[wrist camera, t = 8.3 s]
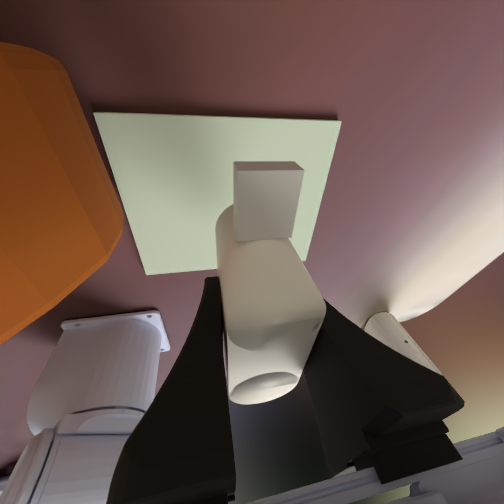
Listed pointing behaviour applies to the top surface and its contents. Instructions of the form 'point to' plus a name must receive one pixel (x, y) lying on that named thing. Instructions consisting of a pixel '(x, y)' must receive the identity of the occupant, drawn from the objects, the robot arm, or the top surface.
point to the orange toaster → (47, 190)
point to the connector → (264, 283)
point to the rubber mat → (205, 177)
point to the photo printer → (397, 338)
